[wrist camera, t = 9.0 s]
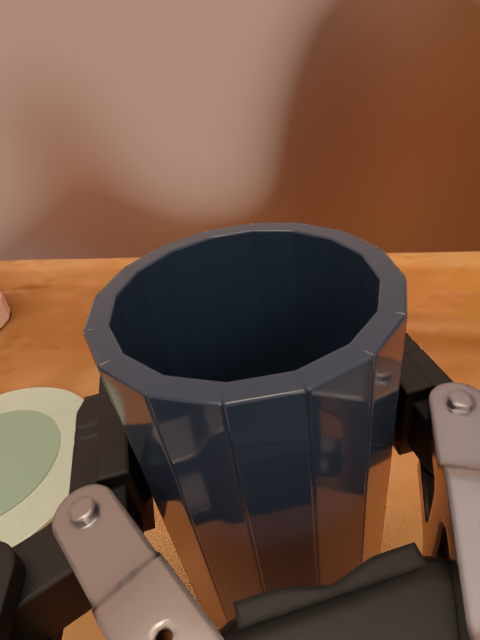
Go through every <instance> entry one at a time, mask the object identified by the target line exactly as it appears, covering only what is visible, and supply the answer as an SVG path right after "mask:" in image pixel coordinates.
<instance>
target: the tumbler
mask: <svg viewBox="0 0 480 640" xmlns="http://www.w3.org/2000/svg"><path fill="white" fill-rule="evenodd" d="M406 323H407V280H406V277H405V275H404V274H403V273H402V272H401V271H400V269H399V268H398V267H397V266H396V265H395V264H394V262H393V261H392V260H391V259H390V258H389V256H388V255H387V254H386V253H385V252H384V251H383V250H381V249H380V248H379V247H377V246H375V245H373V244H371V243H368V242H366V241H364V240H362V239H360V238H358V237H356V236H354V235H352V234H349V233H347V232H343V231H341V230H335V229H329V228H324V227H319V226H314V225H308V224H303V223H300V224H299V223H253V224H244V225H238V226H232V227H226V228H220V229H214V230H208V231H206V232H201V233H198V234H195V235H192V236H189V237H187V238H183V239H181V240H178V241H175V242H172V243H169V244H166V245H163V246H162V247H159V248H157V249H155V250H154V251H152V252H150V253H148V254H147V255H145V256H143V257H141V258H140V259H138V260H136V261H134V262H133V263H131V264H129V265H128V266H126V267H124V269H122V270H121V271H120V272H119V273H118V274H117V275H116V276H115V277H114V278H113V279H112V280H111V281H110V282H109V283H108V284H107V285H106V286H105V287H104V288H103V289H102V290H101V291H100V292H99V293H98V294H97V295H96V297H95V298H94V300H93V303H92V306H91V310H90V313H89V316H88V319H87V322H86V325H85V328H84V337H85V339H86V342H87V344H88V347H89V349H90V352H91V354H92V356H93V359H94V361H95V364H96V366H97V368H98V371H99V373H100V375H101V378H102V380H103V382H104V385H105V387H106V389H107V391H108V394H109V396H110V398H111V401H112V403H113V405H114V408H115V410H116V412H117V415H118V417H119V419H120V421H121V424H122V426H123V428H124V431H125V433H126V435H127V438H128V440H129V442H130V445H131V447H132V449H133V452H134V454H135V456H136V458H137V461H138V463H139V465H140V468H141V470H142V472H143V475H144V477H145V479H146V482H147V484H148V486H149V488H150V491H151V493H152V495H153V498H154V500H155V502H156V505H157V507H158V509H159V512H160V514H161V516H162V519H163V521H164V523H165V525H166V528H167V530H168V532H169V535H170V537H171V539H172V542H173V544H174V546H175V549H176V551H177V553H178V555H179V558H180V560H181V562H182V565H183V567H184V569H185V572H186V574H187V576H188V579H189V581H190V583H191V586H192V588H193V590H194V592H195V595H196V597H197V599H198V602H199V604H200V605H201V607H202V608H203V609H204V611H205V612H206V614H207V615H208V617H209V618H210V619H211V620H212V621H213V622H214V623H215V624H216V626H217V627H218V628H219V629H221V628H222V627H223V626H224V625H225V624H226V623H227V622H229V621H230V620H232V619H233V618H234V617H236V614H235V609H234V605H233V602H235V601H238V600H241V599H244V598H247V597H250V596H253V595H256V594H259V593H262V592H265V591H268V590H271V589H275V588H278V587H291V586H319V585H330V584H333V583H335V582H336V581H338V580H339V579H341V578H342V577H343V576H345V575H346V574H348V573H349V572H350V571H352V570H353V569H355V568H356V567H358V566H359V565H360V564H362V563H363V562H365V561H366V560H367V559H369V558H370V557H372V556H374V555H377V554H380V553H381V544H382V535H383V527H384V518H385V509H386V500H387V491H388V482H389V474H390V465H391V456H392V447H393V438H394V429H395V421H396V412H397V403H398V394H399V385H400V376H401V368H402V359H403V350H404V341H405V332H406Z"/></svg>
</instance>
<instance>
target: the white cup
mask: <svg viewBox="0 0 480 640" xmlns="http://www.w3.org/2000/svg"><path fill="white" fill-rule="evenodd" d="M9 318H10V308H9V306H8V304H7V302H6V300H5V298H4V296H3V294H2V292H1V290H0V329H1V328H2V327H3V325H4V324H5V323H6V322H7V321H8V320H9Z"/></svg>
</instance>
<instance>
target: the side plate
mask: <svg viewBox="0 0 480 640" xmlns="http://www.w3.org/2000/svg"><path fill="white" fill-rule="evenodd" d="M83 401H84V399H83V398H81V397H80V396H78V395H76V394H75V393H73V392H70V391H67V390H64V389H59V388H54V387H32V388H24V389H19V390H14V391H10V392H7V393H3V394H0V541H2V542H5V543H7V544H9V545H10V547H11V548H12V547H13V546H15V545H17V544H18V543H20V542H22V541H23V540H25V539H27V538H28V537H30V536H32V535H33V534H35V533H37V532H38V531H40V530H42V529H43V528H44V527H46V526H47V525H48V524H49V523H51V522H52V521H53V517H54V514H55V512H56V510H57V508H58V506H59V505H60V504H61V502H62V501H63V500H64V499H65V498H66V497H67V496H68V495H69V488H70V477H71V467H72V457H73V446H74V444H75V442H74V436H75V431H76V429H75V426H76V415H77V411H78V410H79V408H80V406H81V404H82V403H83Z"/></svg>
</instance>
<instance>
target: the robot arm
mask: <svg viewBox="0 0 480 640" xmlns="http://www.w3.org/2000/svg"><path fill="white" fill-rule="evenodd" d="M75 429H76V431H75V436H74V442H75V444H74V446H73V457H72V467H71V477H70V488H69V495H68V496H67V497H66V498H65V499H64V500H63V501H62V502H61V504H60V505H59V506H58V508H57V510H56V512H55V514H54V517H53V521H52V522H51V523H49V524H48V525H47V526H46V527H44V528H43V529H42V530H40V531H38V532H37V533H35V534H33V535H32V536H30V537H28V538H27V539H25V540H23V541H22V542H20V543H18V544H17V545H15V546H13V547H12V548H11V547H10V545H9V544H7V543H5V542H2V541H0V640H62V634H63V629H64V628H65V627H66V626H68V625H69V624H70V623H72V622H73V621H75V620H76V619H78V618H79V617H80V616H82V615H83V614H85V613H86V612H88V611H89V610H90V609H92V608H93V609H92V612H93V615H94V617H95V619H96V621H97V623H98V625H99V627H100V629H101V631H102V633H103V635H104V637H105V638H106V640H480V390H478V389H477V388H475V387H473V386H470V385H467V384H463V383H456V382H453V381H452V380H451V379H450V378H449V377H448V376H447V375H446V374H445V373H444V372H443V371H442V370H441V369H440V368H439V367H438V365H437V364H436V363H435V362H434V361H433V360H432V359H431V358H430V357H429V356H428V355H427V354H426V353H425V352H424V351H423V350H422V349H420V347H419V346H418V345H417V344H416V343H415V342H414V340H413V341H412V340H411V337H410V336H409V335H408V334H407V333H406V332H405V341H404V350H403V359H402V368H401V376H400V385H399V394H398V403H397V412H396V421H395V429H394V438H393V446H394V448H395V449H396V451H397V452H398V454H399V455H401V454H405V453H408V452H411V451H414V453H415V454H416V456H417V457H418V458H419V460H418V479H419V490H420V501H421V512H422V524H423V555H422V554H421V552H420V551H419V549H418V547H417V546H416V544H415V542H414V543H411V544H408V545H405V546H402V547H399V548H396V549H393V550H390V551H387V552H384V553H381V554H377V555H374V556H372V557H370V558H369V559H367V560H366V561H365V562H363V563H362V564H360V565H359V566H358V567H356V568H355V569H353V570H352V571H350V572H349V573H348V574H346V575H345V576H343V577H342V578H341V579H339V580H338V581H336V582H335V583H333V584H330V585H319V586H291V587H278V588H275V589H271V590H268V591H265V592H262V593H259V594H256V595H253V596H250V597H247V598H244V599H241V600H238V601H235V602H233V605H234V609H235V614H236V617H234V618H233V619H232V620H230V621H229V622H227V623H226V624H225V625H224V626H223V627H222V628H221V629H220V630H219V631H218V630H217V628H216V627H215V626H214V624H213V623H212V622H211V620H210V619H209V618H208V616H207V615H206V614H205V612H204V611H203V609H202V608H201V607H200V605H199V604H198V603H197V601H196V600H195V599H194V597H193V596H192V595H191V593H190V592H189V590H188V589H187V588H186V586H185V585H184V584H183V582H182V581H181V580H180V578H179V577H178V576H177V574H176V573H175V571H174V570H173V569H172V567H171V566H170V565H169V563H168V562H167V561H166V559H165V558H164V557H163V556H162V555H161V554H160V553H159V552H158V553H157V552H156V550H155V549H154V548H153V547H152V545H151V544H150V542H149V541H148V540H147V538H146V537H145V536H144V531H147V530H151V529H154V528H155V520H154V508H153V496H152V493H151V491H150V488H149V486H148V484H147V482H146V479H145V477H144V475H143V472H142V470H141V468H140V465H139V463H138V461H137V458H136V456H135V454H134V452H133V449H132V447H131V445H130V442H129V440H128V438H127V435H126V433H125V431H124V428H123V426H122V424H121V421H120V419H119V417H118V415H117V412H116V410H115V408H114V405H113V403H112V401H111V398H110V396H109V394H108V391H107V389H106V387H105V385H104V382H103V380H102V378H101V375H100V385H99V394H96V395H92V396H88V397H85V399H84V401H83V403H82V404H81V406H80V408H79V410H78V411H77V415H76V426H75Z"/></svg>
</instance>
